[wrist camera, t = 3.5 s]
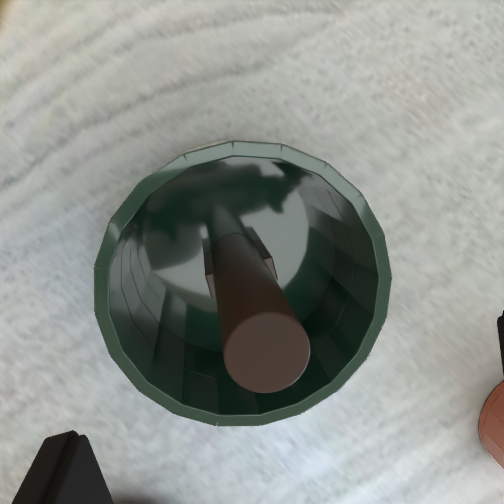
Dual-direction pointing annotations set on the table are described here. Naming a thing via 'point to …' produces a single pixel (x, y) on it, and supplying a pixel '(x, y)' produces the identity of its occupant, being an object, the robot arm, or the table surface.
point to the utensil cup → (493, 426)
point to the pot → (205, 308)
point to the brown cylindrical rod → (254, 316)
